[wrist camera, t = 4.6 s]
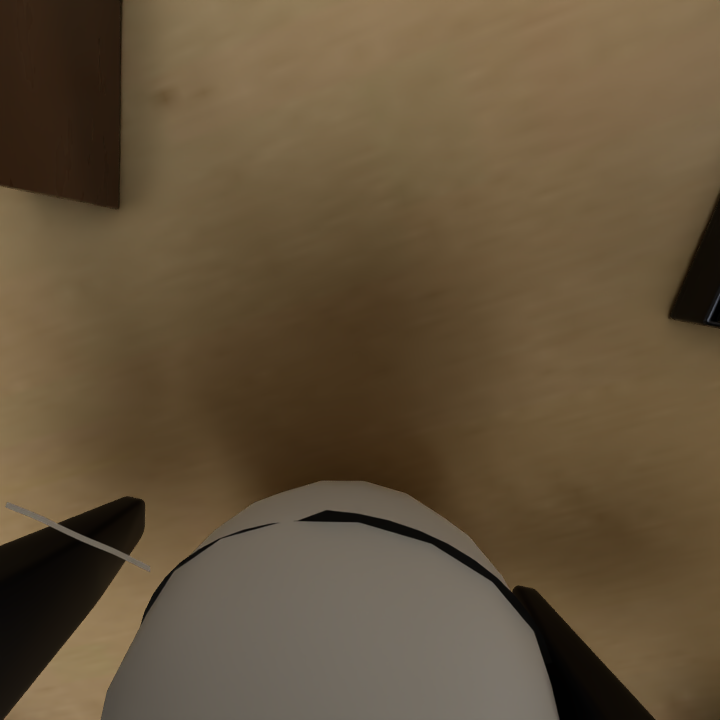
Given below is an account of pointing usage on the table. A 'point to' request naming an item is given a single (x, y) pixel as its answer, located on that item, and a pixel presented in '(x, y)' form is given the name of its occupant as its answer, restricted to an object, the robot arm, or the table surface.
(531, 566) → the table surface
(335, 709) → the seamed sphere
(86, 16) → the brown rectangular block
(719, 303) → the stapler
